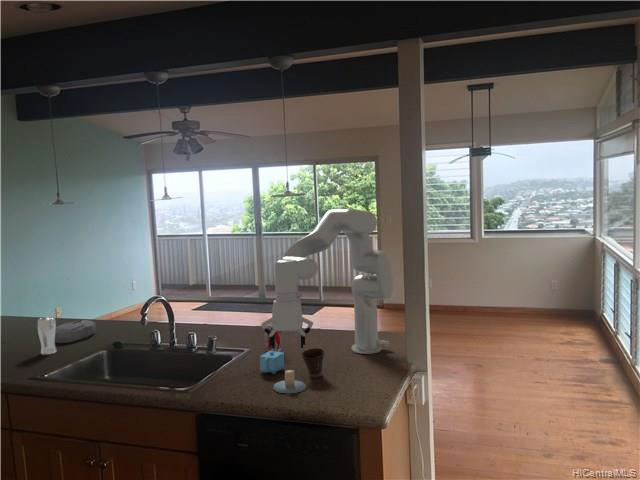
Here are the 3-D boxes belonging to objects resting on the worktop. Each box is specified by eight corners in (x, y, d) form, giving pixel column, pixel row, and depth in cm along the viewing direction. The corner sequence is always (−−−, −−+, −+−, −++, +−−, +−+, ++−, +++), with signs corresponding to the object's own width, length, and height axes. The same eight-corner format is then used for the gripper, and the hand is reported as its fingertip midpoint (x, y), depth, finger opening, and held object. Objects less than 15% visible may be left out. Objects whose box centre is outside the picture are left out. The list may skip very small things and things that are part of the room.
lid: (305, 381, 175) (305, 365, 175) (306, 394, 164) (306, 377, 164) (274, 382, 175) (273, 366, 174) (272, 395, 164) (272, 378, 163)
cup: (298, 379, 177) (297, 354, 176) (307, 371, 185) (306, 347, 184) (320, 382, 174) (319, 356, 173) (328, 374, 182) (327, 349, 181)
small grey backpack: (75, 332, 251) (44, 343, 232) (74, 316, 250) (42, 326, 231) (101, 333, 247) (71, 345, 228) (100, 317, 246) (70, 327, 227)
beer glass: (61, 351, 219) (59, 317, 217) (46, 356, 212) (44, 321, 211) (50, 349, 221) (48, 316, 220) (35, 354, 215) (33, 319, 214)
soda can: (279, 355, 205) (278, 326, 204) (262, 354, 207) (261, 326, 206) (283, 350, 212) (282, 322, 211) (267, 349, 214) (266, 321, 213)
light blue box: (274, 364, 194) (273, 345, 194) (288, 366, 192) (287, 347, 191) (258, 374, 183) (257, 354, 183) (272, 376, 181) (272, 356, 180)
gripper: (312, 294, 171) (313, 343, 172) (262, 295, 171) (263, 344, 172) (312, 298, 163) (313, 350, 164) (259, 299, 163) (260, 351, 164)
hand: (287, 347), depth 168 cm, fingers open, 9 cm apart
